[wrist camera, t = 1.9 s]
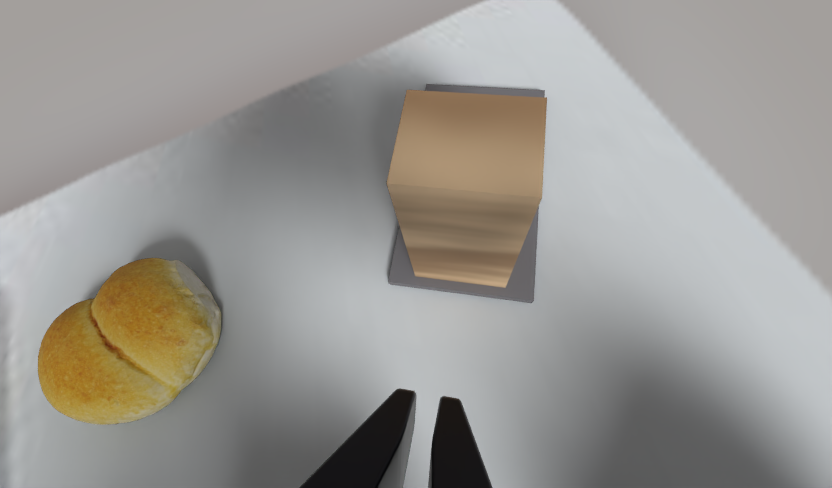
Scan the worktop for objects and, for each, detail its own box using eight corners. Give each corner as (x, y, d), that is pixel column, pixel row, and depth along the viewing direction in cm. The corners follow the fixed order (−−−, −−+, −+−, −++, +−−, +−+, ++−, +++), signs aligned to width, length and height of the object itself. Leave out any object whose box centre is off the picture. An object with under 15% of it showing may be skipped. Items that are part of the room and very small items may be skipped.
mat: (532, 302, 22) (533, 300, 21) (389, 284, 23) (387, 281, 22) (543, 95, 27) (544, 90, 26) (427, 89, 28) (426, 84, 28)
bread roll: (54, 346, 24) (-21, 334, 20) (182, 248, 25) (135, 220, 22) (110, 464, 21) (36, 475, 17) (250, 344, 22) (210, 331, 19)
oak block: (505, 287, 22) (541, 197, 12) (415, 276, 22) (386, 183, 13) (510, 222, 23) (546, 97, 14) (425, 213, 24) (406, 89, 15)
